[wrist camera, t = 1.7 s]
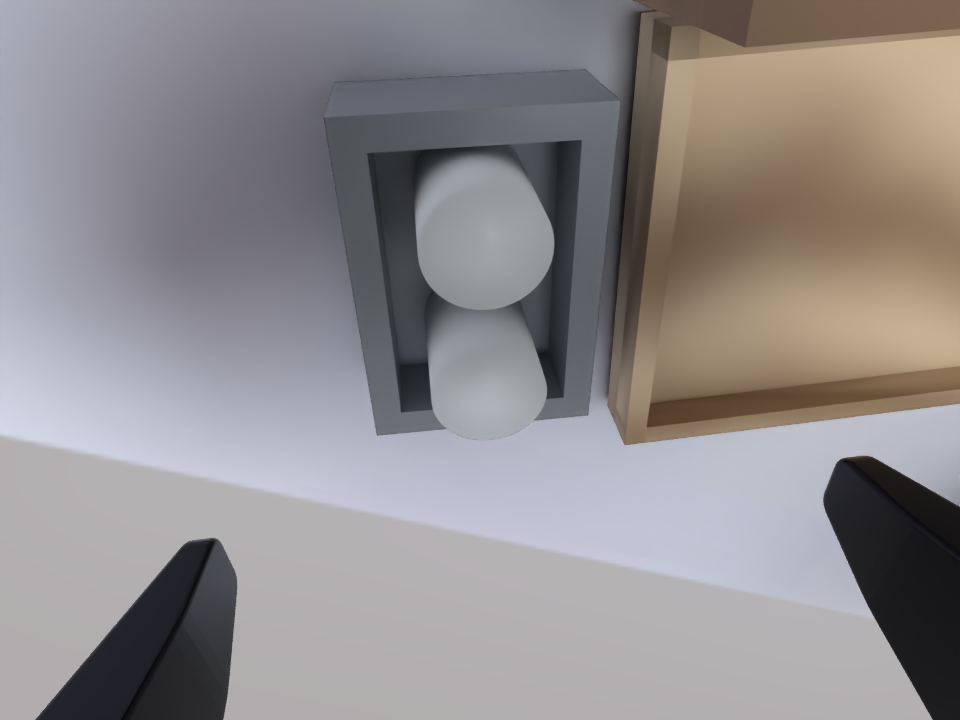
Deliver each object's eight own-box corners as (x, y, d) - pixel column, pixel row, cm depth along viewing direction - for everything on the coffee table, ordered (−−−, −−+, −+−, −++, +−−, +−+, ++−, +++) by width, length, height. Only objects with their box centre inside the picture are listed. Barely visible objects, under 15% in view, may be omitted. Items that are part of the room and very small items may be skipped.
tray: (563, 350, 19) (603, 455, 16) (378, 366, 19) (375, 478, 15) (582, 66, 14) (646, 123, 11) (335, 80, 14) (315, 142, 10)
